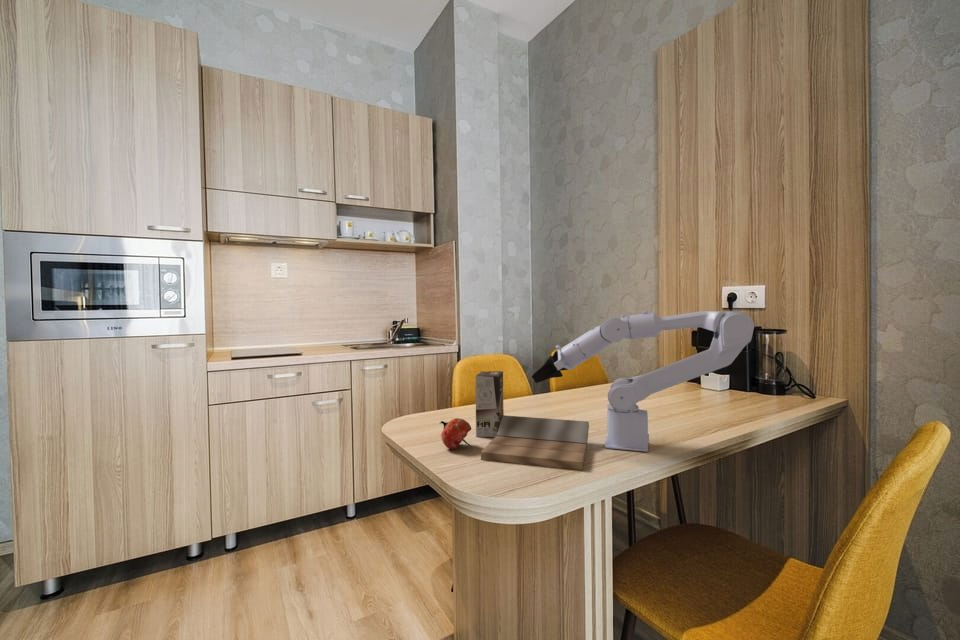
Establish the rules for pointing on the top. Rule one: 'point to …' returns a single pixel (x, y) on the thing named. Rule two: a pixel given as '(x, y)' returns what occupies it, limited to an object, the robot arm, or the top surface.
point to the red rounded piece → (455, 432)
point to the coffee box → (489, 403)
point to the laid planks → (536, 452)
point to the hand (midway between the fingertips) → (537, 376)
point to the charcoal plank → (544, 429)
